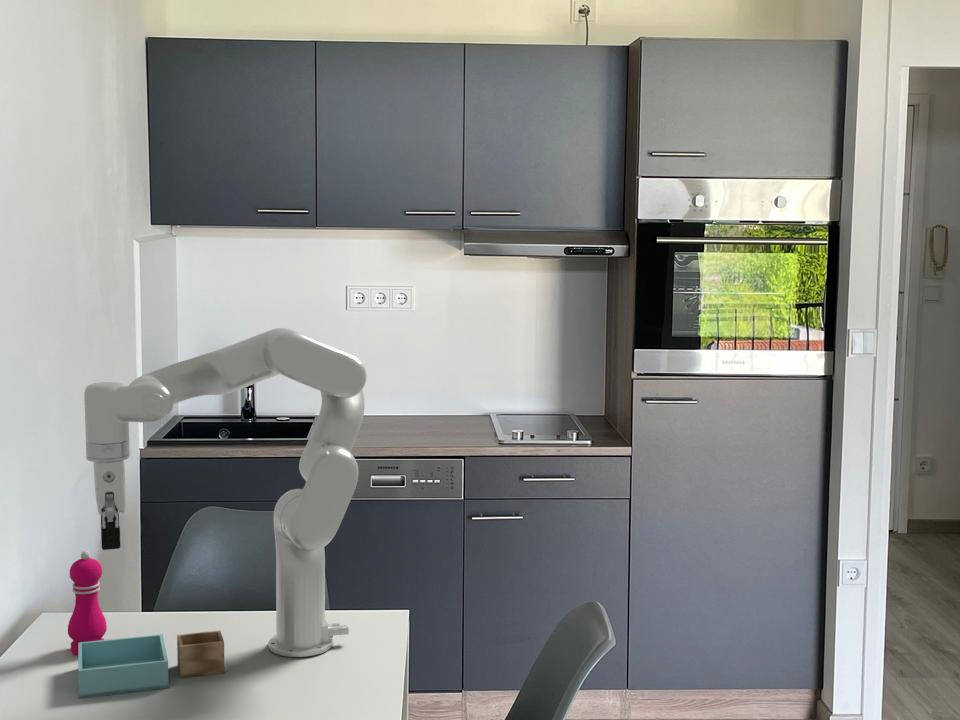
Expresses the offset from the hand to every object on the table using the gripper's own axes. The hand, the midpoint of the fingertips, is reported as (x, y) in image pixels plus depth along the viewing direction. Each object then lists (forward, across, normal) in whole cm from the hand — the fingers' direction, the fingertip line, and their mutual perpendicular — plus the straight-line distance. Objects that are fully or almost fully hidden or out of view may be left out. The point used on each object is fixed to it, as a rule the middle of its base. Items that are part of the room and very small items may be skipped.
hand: (110, 541), depth 205 cm
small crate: (+25, -4, -15) cm, 30 cm away
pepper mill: (+25, +12, +5) cm, 28 cm away
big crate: (+25, -4, -1) cm, 25 cm away
